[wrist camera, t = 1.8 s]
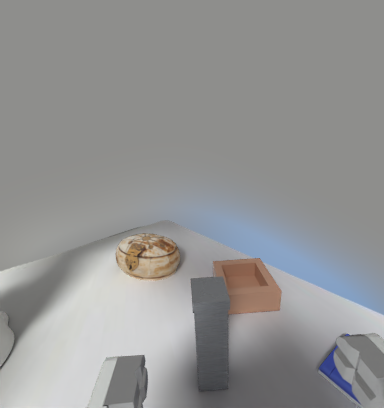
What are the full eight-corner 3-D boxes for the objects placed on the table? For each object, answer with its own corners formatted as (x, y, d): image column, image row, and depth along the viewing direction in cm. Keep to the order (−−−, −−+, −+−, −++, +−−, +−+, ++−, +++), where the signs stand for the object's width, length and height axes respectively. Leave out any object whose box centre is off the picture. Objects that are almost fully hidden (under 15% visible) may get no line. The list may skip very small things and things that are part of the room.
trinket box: (121, 256, 55) (116, 229, 52) (176, 249, 57) (174, 223, 55) (112, 290, 42) (105, 257, 40) (183, 279, 44) (181, 247, 42)
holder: (221, 314, 35) (221, 295, 33) (213, 277, 44) (213, 261, 43) (279, 310, 35) (281, 291, 34) (258, 274, 44) (259, 258, 43)
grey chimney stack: (197, 392, 24) (192, 303, 20) (195, 360, 28) (190, 278, 24) (229, 390, 24) (230, 300, 20) (223, 357, 28) (223, 276, 24)
